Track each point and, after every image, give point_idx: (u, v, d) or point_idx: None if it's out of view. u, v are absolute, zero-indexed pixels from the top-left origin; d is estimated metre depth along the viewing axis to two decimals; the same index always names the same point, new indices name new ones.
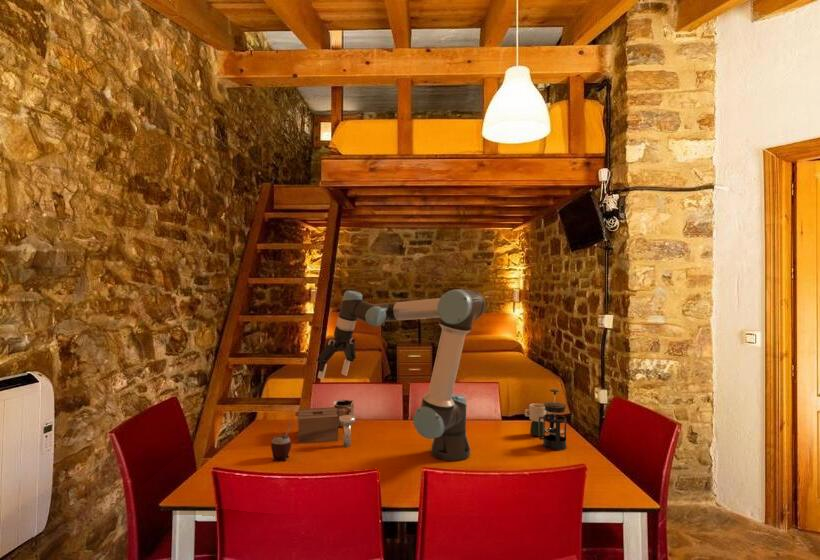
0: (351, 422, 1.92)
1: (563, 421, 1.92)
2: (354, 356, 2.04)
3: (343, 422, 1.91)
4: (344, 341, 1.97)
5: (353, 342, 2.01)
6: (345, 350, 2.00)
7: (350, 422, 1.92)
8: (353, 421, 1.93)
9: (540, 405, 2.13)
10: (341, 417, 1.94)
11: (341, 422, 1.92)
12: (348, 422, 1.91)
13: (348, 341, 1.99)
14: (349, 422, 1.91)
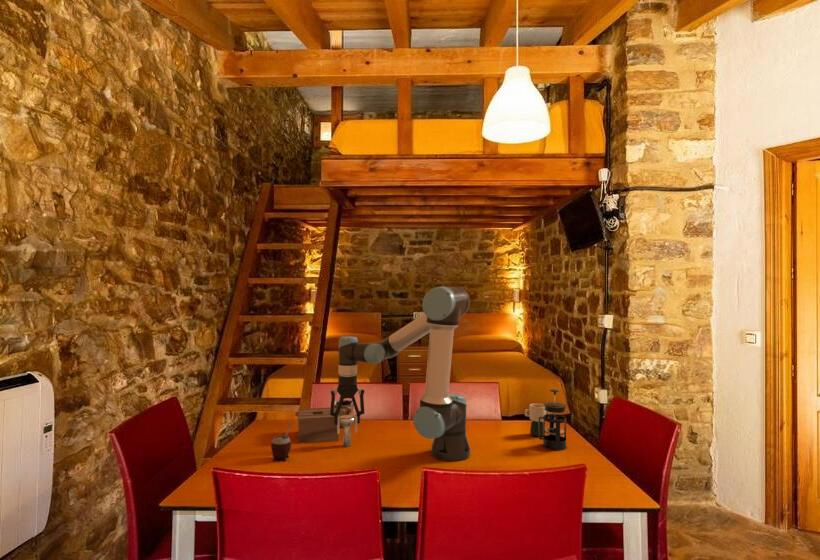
0: (351, 422, 1.92)
1: (563, 421, 1.92)
2: (362, 410, 1.95)
3: (343, 422, 1.91)
4: (350, 386, 1.94)
5: (362, 393, 1.95)
6: (352, 400, 1.94)
7: (350, 422, 1.92)
8: (353, 421, 1.93)
9: (540, 405, 2.13)
10: (341, 417, 1.94)
11: (341, 422, 1.92)
12: (348, 422, 1.91)
13: (355, 389, 1.94)
14: (349, 422, 1.91)
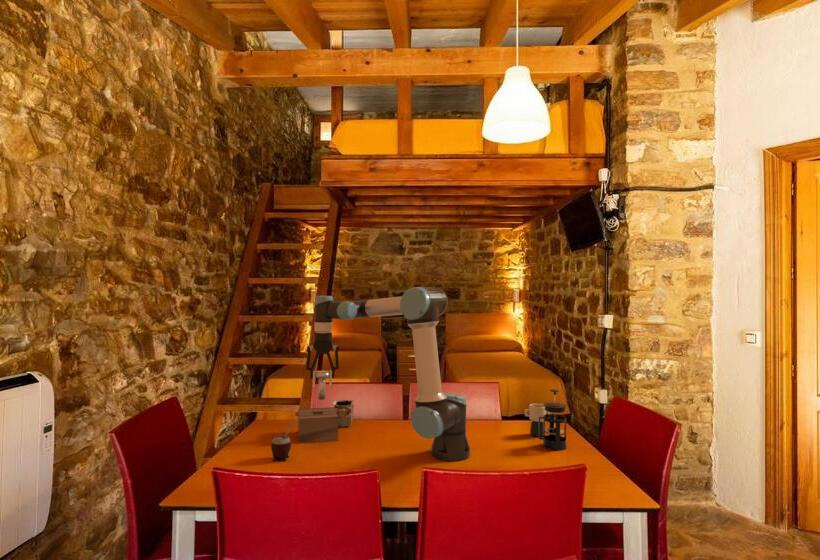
0: (326, 376, 2.02)
1: (563, 421, 1.92)
2: (337, 366, 2.05)
3: (318, 376, 2.02)
4: (325, 342, 2.04)
5: (336, 349, 2.05)
6: (327, 356, 2.05)
7: (325, 376, 2.02)
8: (328, 375, 2.03)
9: (540, 405, 2.13)
10: (316, 372, 2.04)
11: (316, 376, 2.02)
12: (323, 376, 2.02)
13: (330, 345, 2.04)
14: (324, 376, 2.02)
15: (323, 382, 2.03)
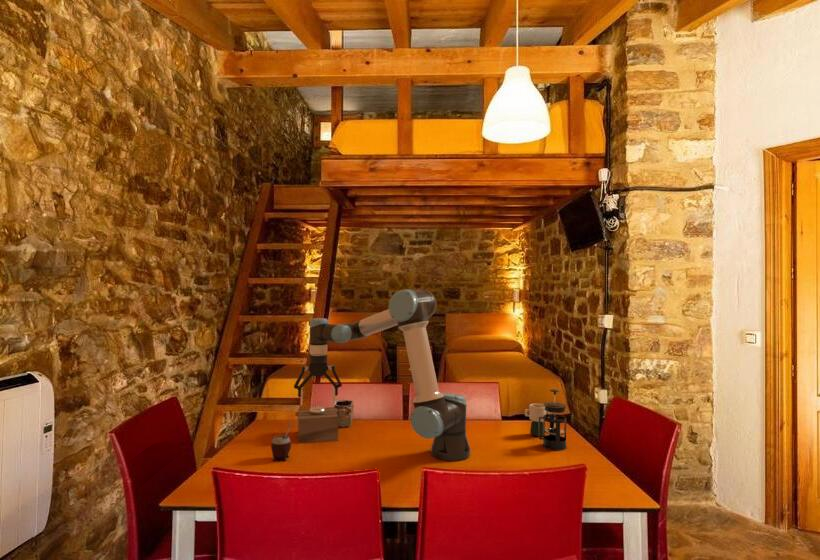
0: (321, 412, 2.04)
1: (563, 421, 1.92)
2: (339, 383, 2.07)
3: (313, 412, 2.03)
4: (319, 367, 2.06)
5: (332, 368, 2.07)
6: (326, 377, 2.07)
7: (320, 412, 2.04)
8: (323, 412, 2.05)
9: (540, 405, 2.13)
10: (312, 408, 2.06)
11: (311, 412, 2.04)
12: (318, 412, 2.03)
13: (325, 367, 2.06)
14: (319, 412, 2.03)
15: None
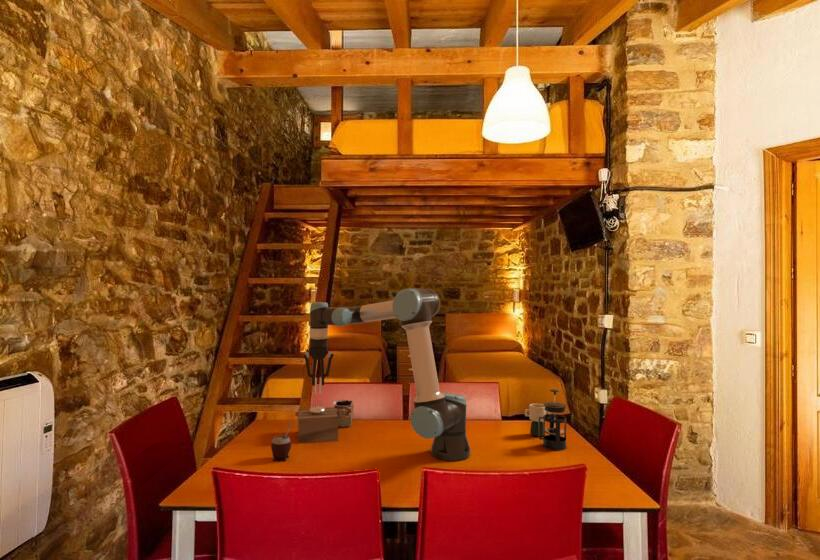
0: (321, 412, 2.04)
1: (563, 421, 1.92)
2: (327, 373, 2.06)
3: (313, 412, 2.03)
4: (321, 347, 2.06)
5: (331, 356, 2.07)
6: None
7: (320, 412, 2.04)
8: (323, 412, 2.05)
9: (540, 405, 2.13)
10: (312, 408, 2.06)
11: (311, 412, 2.04)
12: (318, 412, 2.03)
13: (326, 351, 2.06)
14: (319, 412, 2.03)
15: None
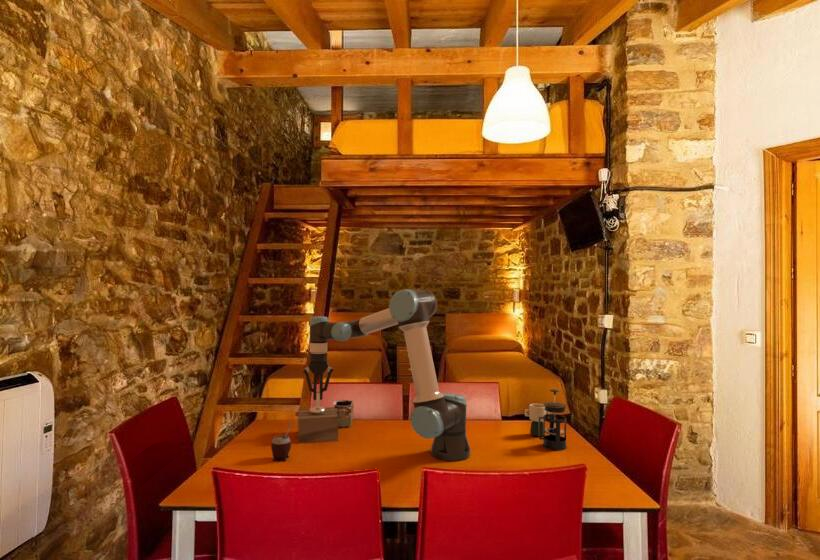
0: (321, 412, 2.04)
1: (563, 421, 1.92)
2: (325, 387, 2.06)
3: (313, 412, 2.03)
4: (321, 361, 2.06)
5: (330, 371, 2.07)
6: None
7: (320, 412, 2.04)
8: (323, 412, 2.05)
9: (540, 405, 2.13)
10: (312, 408, 2.06)
11: (311, 412, 2.04)
12: (318, 412, 2.03)
13: (325, 365, 2.06)
14: (319, 412, 2.03)
15: None
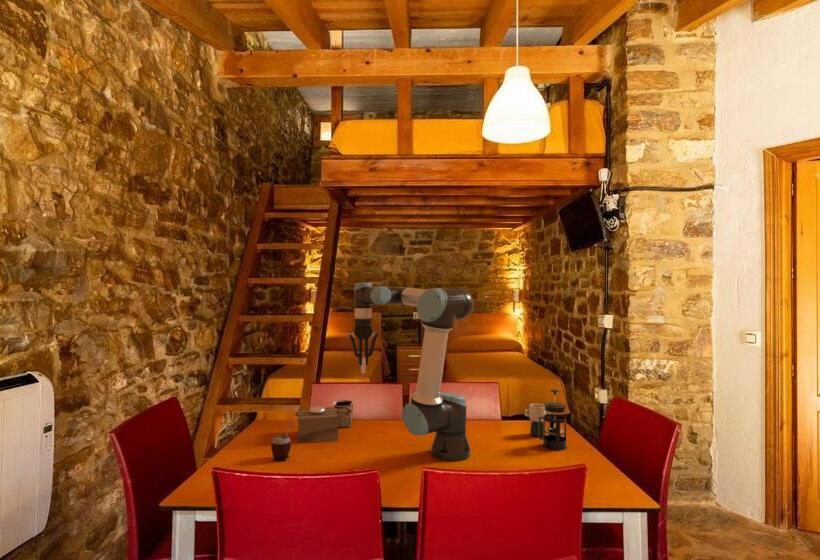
0: (321, 412, 2.04)
1: (563, 421, 1.92)
2: (371, 352, 2.08)
3: (313, 412, 2.03)
4: (366, 327, 2.08)
5: (375, 336, 2.09)
6: (364, 342, 2.08)
7: (320, 412, 2.04)
8: (323, 412, 2.05)
9: (540, 405, 2.13)
10: (312, 408, 2.06)
11: (311, 412, 2.04)
12: (318, 412, 2.03)
13: (370, 330, 2.09)
14: (319, 412, 2.03)
15: None
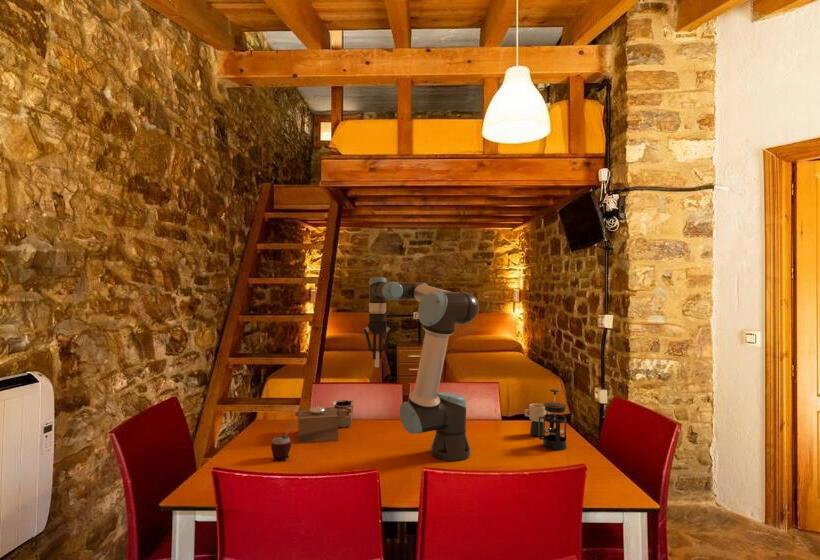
0: (321, 412, 2.04)
1: (563, 421, 1.92)
2: (384, 347, 2.09)
3: (313, 412, 2.03)
4: (381, 321, 2.09)
5: (389, 331, 2.10)
6: (379, 336, 2.09)
7: (320, 412, 2.04)
8: (323, 412, 2.05)
9: (540, 405, 2.13)
10: (312, 408, 2.06)
11: (311, 412, 2.04)
12: (318, 412, 2.03)
13: (384, 325, 2.09)
14: (319, 412, 2.03)
15: None
